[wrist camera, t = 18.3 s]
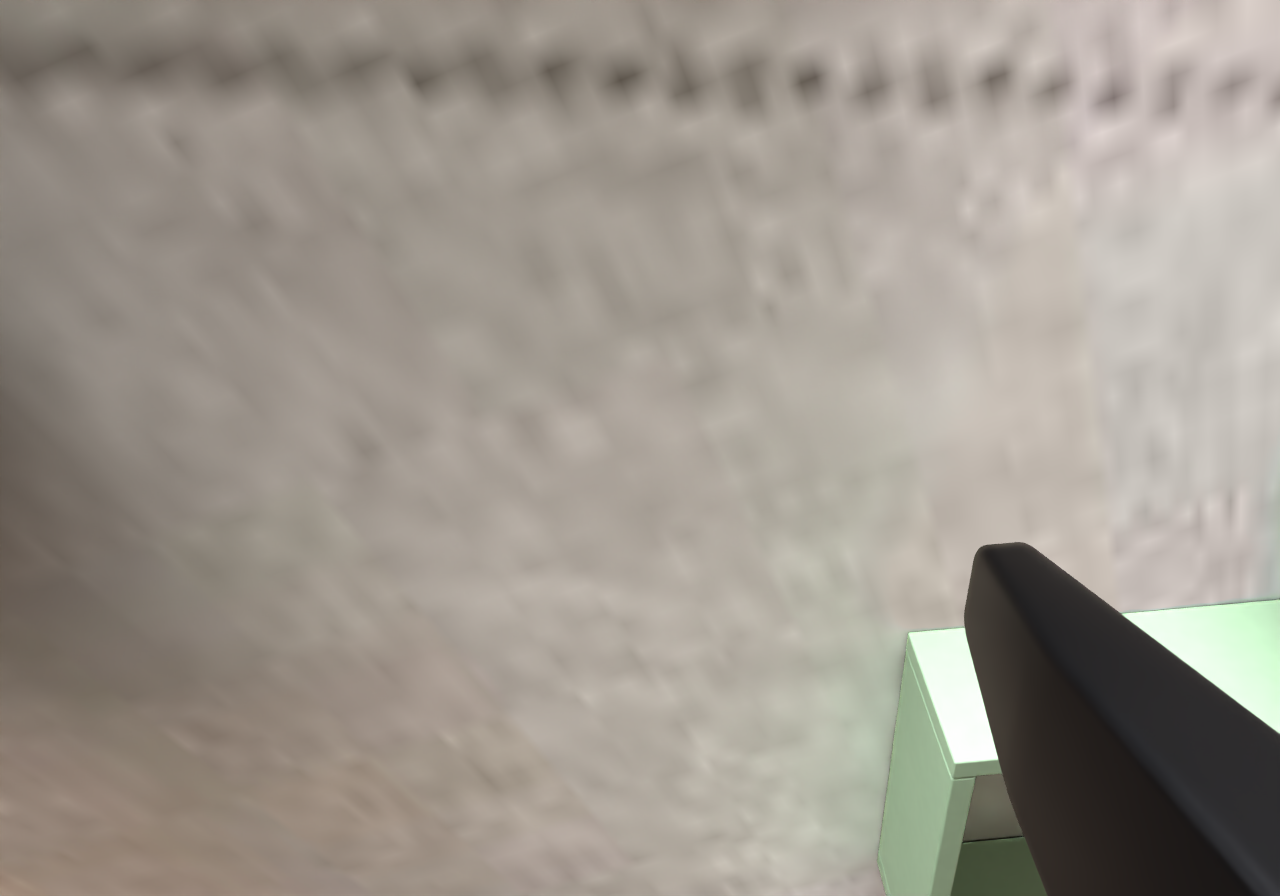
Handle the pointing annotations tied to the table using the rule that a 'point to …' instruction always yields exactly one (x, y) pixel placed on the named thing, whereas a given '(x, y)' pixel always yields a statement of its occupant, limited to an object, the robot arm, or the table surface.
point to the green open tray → (964, 748)
